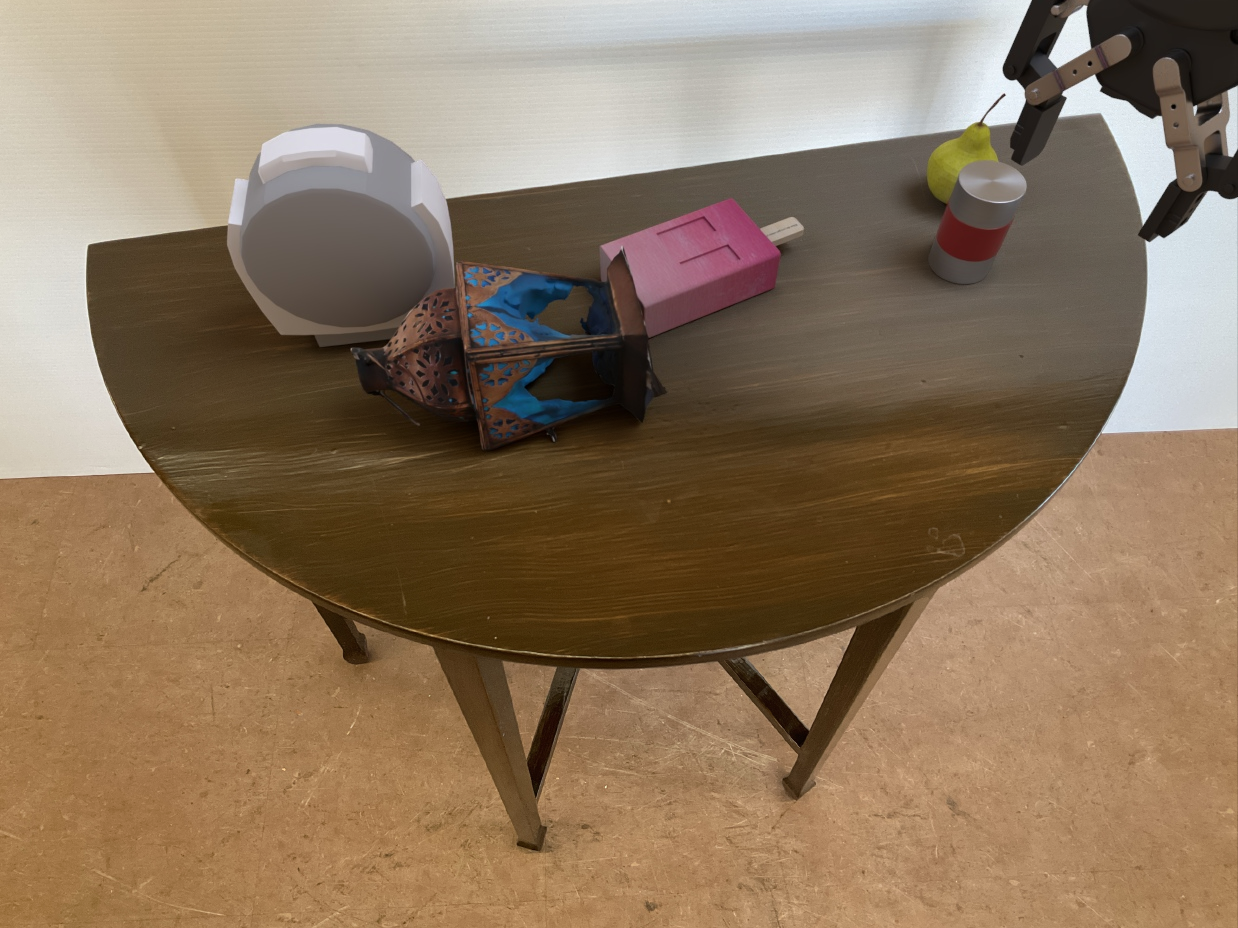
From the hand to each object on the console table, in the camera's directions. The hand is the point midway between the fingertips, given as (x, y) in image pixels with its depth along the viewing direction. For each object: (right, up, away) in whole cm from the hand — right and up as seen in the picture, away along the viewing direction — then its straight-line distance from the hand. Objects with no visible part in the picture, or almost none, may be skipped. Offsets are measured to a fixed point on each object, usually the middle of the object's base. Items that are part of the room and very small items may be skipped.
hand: (1085, 194), depth 49 cm
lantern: (-36, -9, +29) cm, 47 cm away
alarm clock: (-51, -2, +34) cm, 61 cm away
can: (+7, +5, +37) cm, 38 cm away
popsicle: (-18, +3, +37) cm, 41 cm away
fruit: (+9, +13, +42) cm, 45 cm away
